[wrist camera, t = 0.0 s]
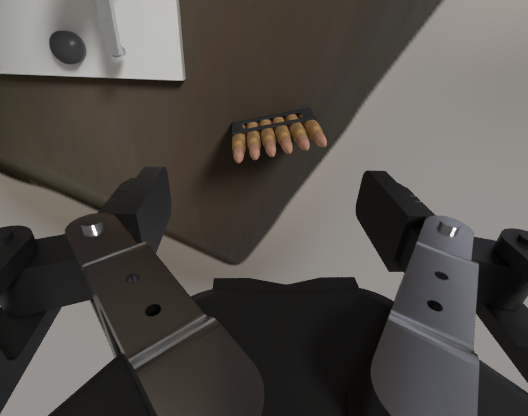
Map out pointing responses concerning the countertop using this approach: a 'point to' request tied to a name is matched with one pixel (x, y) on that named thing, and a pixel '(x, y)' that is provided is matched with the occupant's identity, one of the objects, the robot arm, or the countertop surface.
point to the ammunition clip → (276, 133)
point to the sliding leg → (110, 28)
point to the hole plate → (91, 39)
